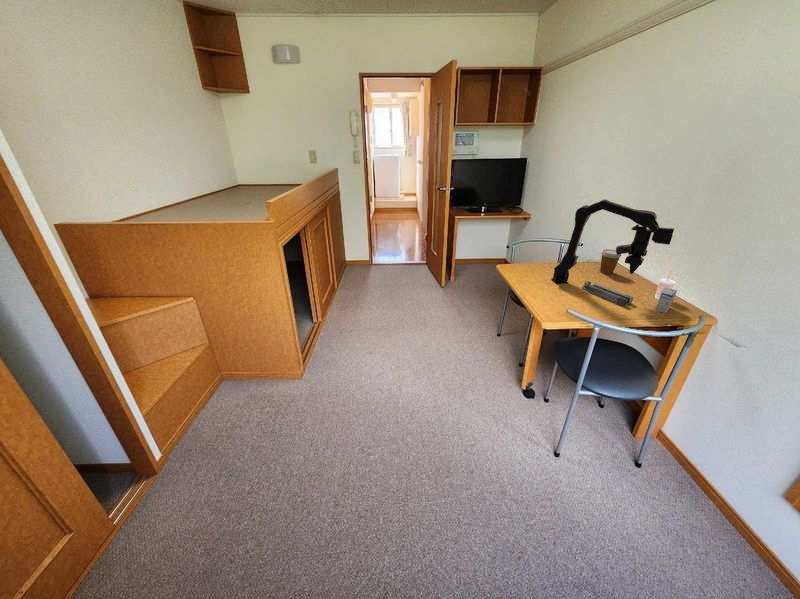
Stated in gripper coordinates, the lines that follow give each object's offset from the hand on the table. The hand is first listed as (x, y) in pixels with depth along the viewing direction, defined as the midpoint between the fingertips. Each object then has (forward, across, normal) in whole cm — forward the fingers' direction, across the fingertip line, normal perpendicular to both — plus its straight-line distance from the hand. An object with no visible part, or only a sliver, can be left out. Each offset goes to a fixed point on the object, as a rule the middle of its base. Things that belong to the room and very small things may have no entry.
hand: (631, 273), depth 154 cm
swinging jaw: (+11, +4, -5) cm, 13 cm away
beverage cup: (+12, -8, +14) cm, 20 cm away
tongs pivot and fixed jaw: (+12, +5, -8) cm, 15 cm away
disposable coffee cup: (+12, -29, -13) cm, 34 cm away
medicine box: (+12, +4, +16) cm, 20 cm away
